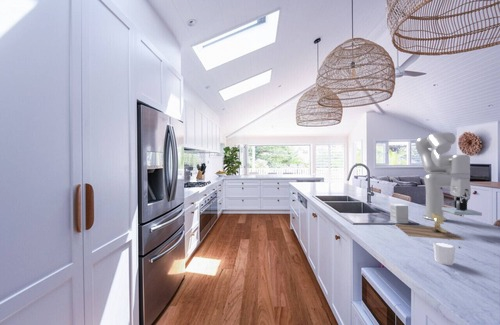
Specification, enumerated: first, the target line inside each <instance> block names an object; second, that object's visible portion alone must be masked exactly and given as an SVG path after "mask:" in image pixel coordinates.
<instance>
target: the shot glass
mask: <svg viewBox="0 0 500 325" xmlns="http://www.w3.org/2000/svg"><path fill="white" fill-rule="evenodd" d="M432 245H433V246H432V247H433V253H434V254H433V256H434V260H435V262H437V263H438V264H441V265H445V266H453V265H454V261H455V256H456V255H455V254H456V246H455V245H453V244H450V243H447V242H443V241H442V242H441V241H434V242H433V243H432Z"/></svg>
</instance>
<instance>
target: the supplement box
mask: <svg viewBox="0 0 500 325" xmlns="http://www.w3.org/2000/svg"><path fill="white" fill-rule="evenodd" d="M389 206H390V207H389V209H390V214H389V216H390V218H389V219H390V221H391V222H393V223H394V224H409V205H407V204H403V203H390V205H389Z"/></svg>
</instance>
